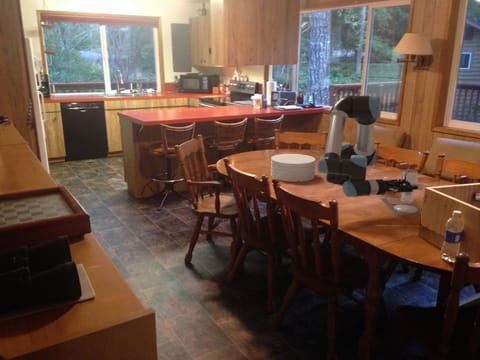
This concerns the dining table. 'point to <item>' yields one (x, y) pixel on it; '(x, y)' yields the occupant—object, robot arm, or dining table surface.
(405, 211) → the round coaster
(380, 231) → the dining table surface
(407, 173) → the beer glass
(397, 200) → the square tile
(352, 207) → the dining table surface
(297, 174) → the plate stack
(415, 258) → the dining table surface
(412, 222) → the dining table surface
